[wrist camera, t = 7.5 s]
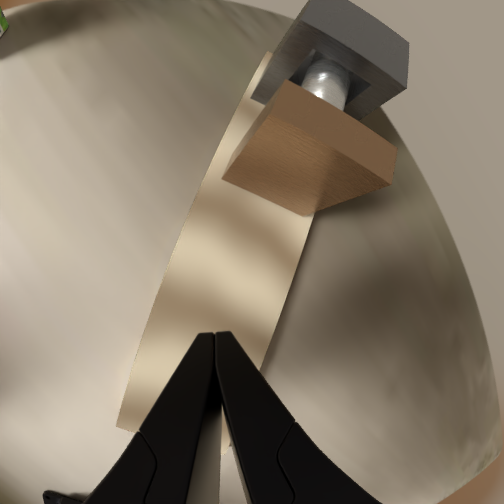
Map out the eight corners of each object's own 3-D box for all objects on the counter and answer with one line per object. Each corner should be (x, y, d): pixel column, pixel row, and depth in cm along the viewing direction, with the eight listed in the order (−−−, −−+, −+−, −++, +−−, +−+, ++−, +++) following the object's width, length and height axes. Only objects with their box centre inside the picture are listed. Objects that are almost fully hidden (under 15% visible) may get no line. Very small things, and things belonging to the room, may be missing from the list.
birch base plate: (222, 447, 20) (225, 454, 19) (117, 420, 18) (116, 426, 17) (342, 100, 24) (348, 95, 23) (263, 57, 22) (267, 51, 21)
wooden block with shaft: (302, 216, 21) (391, 185, 12) (221, 179, 19) (270, 113, 11) (340, 91, 23) (408, 35, 14) (278, 56, 21) (330, -17, 13)
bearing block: (330, 140, 22) (406, 88, 14) (249, 98, 21) (300, 19, 12) (342, 96, 23) (409, 43, 15) (270, 57, 22) (319, -16, 13)
